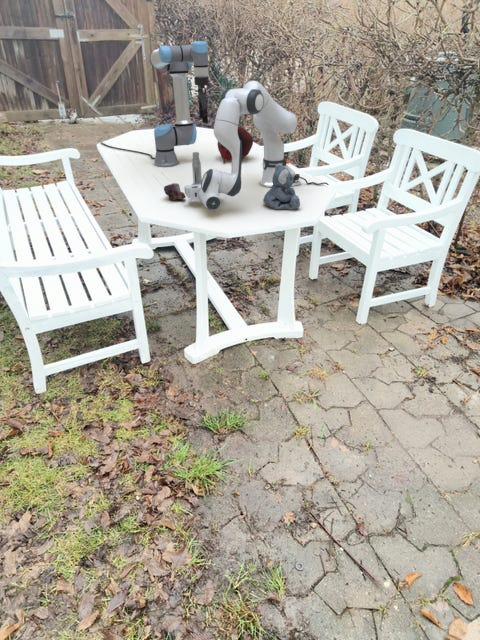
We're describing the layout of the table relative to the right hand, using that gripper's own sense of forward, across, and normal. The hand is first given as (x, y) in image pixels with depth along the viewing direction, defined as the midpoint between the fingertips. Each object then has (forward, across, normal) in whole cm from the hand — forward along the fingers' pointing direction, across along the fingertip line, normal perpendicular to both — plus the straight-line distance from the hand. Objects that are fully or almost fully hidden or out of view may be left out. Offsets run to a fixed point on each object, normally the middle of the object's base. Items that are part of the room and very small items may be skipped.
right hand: (201, 184), depth 236 cm
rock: (+2, +15, +7) cm, 17 cm away
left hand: (+28, -8, -26) cm, 39 cm away
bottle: (+12, 0, +7) cm, 14 cm away
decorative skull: (+70, -36, +8) cm, 79 cm away
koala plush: (-22, -36, +7) cm, 43 cm away
